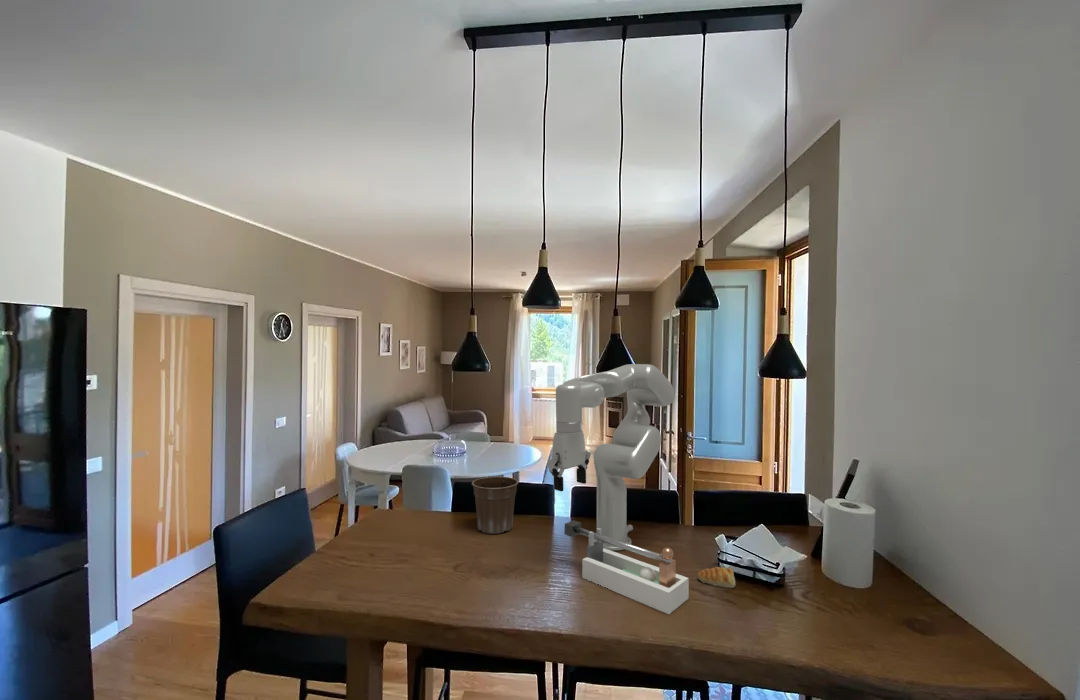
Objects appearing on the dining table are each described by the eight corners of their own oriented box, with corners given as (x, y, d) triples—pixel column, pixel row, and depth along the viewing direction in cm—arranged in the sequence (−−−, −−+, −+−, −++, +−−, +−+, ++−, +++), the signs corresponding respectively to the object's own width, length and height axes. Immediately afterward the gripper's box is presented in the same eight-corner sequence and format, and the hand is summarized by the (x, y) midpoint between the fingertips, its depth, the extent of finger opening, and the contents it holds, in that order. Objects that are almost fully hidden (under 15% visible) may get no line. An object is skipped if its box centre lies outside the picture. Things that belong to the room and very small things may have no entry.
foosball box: (604, 565, 131) (604, 525, 131) (688, 598, 113) (688, 551, 113) (582, 577, 124) (582, 534, 124) (668, 614, 106) (668, 564, 106)
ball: (644, 578, 118) (644, 562, 118) (658, 583, 116) (658, 567, 116) (636, 583, 115) (636, 567, 116) (650, 589, 113) (650, 572, 113)
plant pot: (472, 520, 167) (472, 476, 168) (516, 519, 169) (516, 475, 169) (470, 537, 151) (470, 488, 151) (519, 536, 153) (519, 487, 153)
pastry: (699, 586, 120) (699, 571, 120) (695, 574, 126) (695, 560, 126) (737, 590, 118) (737, 575, 118) (731, 578, 125) (731, 563, 125)
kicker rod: (573, 549, 135) (573, 515, 135) (677, 587, 112) (677, 546, 113) (564, 553, 132) (564, 518, 132) (668, 594, 109) (668, 552, 109)
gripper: (579, 422, 141) (580, 477, 141) (538, 429, 129) (539, 490, 129) (598, 424, 135) (599, 482, 135) (557, 433, 123) (559, 496, 123)
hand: (570, 486), depth 132 cm, fingers open, 9 cm apart
